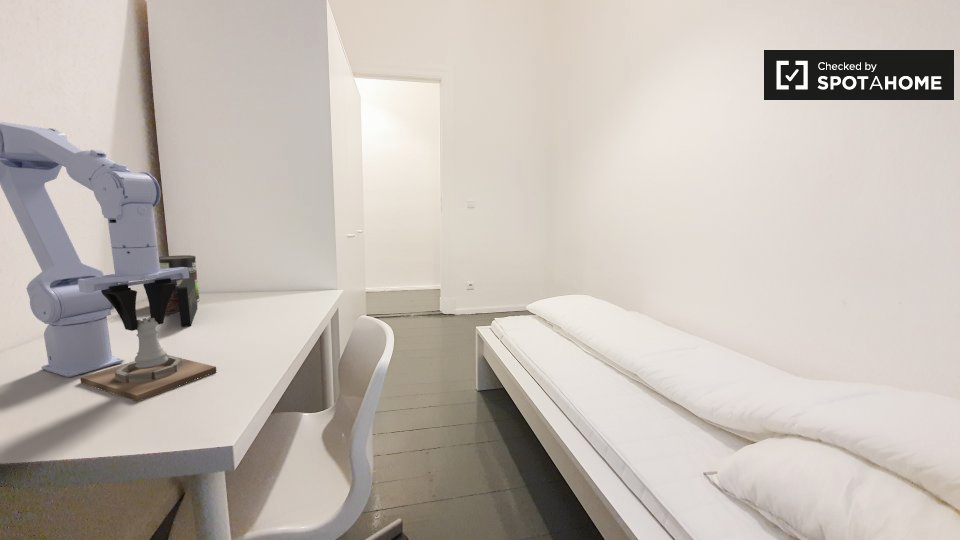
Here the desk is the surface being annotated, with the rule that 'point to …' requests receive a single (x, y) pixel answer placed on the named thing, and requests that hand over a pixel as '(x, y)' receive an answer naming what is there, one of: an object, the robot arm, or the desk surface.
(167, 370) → the socket board
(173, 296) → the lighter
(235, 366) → the desk surface
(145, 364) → the rook chess piece
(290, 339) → the desk surface
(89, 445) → the desk surface
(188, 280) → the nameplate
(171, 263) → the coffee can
